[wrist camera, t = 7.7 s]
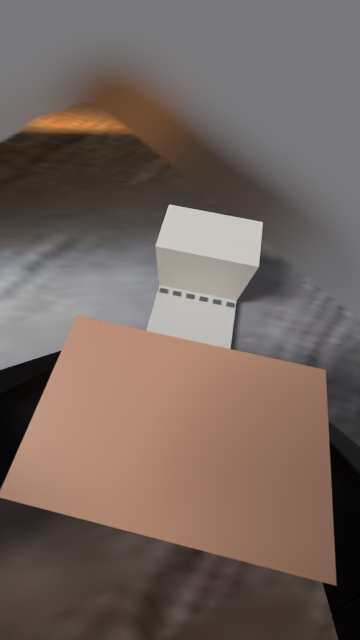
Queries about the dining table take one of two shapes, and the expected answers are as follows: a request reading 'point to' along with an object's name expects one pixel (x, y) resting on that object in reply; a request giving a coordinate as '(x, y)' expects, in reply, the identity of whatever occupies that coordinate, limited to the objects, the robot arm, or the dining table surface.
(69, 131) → the dining table surface
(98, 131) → the dining table surface
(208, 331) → the white long block
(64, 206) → the dining table surface
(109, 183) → the dining table surface
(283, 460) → the stub
